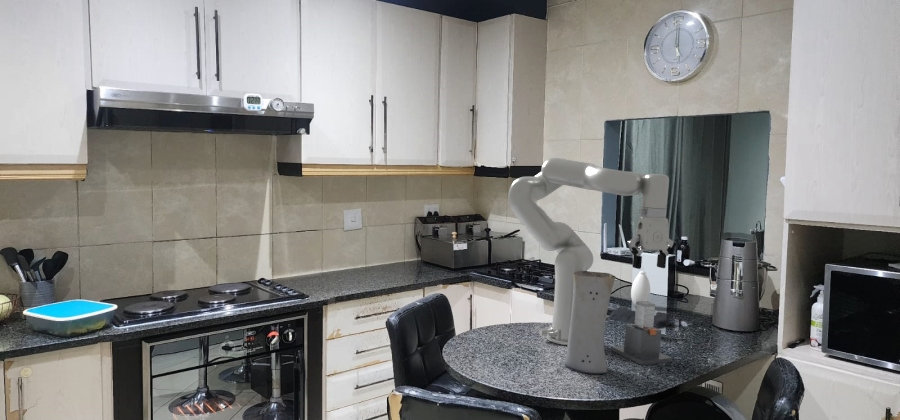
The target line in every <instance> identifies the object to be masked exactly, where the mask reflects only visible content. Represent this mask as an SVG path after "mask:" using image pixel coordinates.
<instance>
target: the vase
mask: <svg viewBox="0 0 900 420" xmlns="http://www.w3.org/2000/svg"><path fill="white" fill-rule="evenodd" d="M573 278H574V286H573V287H574V288H573V303H572V313H571V321H570V329H569V337H568V345H566V347H567V348H566V356H565V360H564V365H565V366H566V367H567V368H568V369H570V371H575V372H579V373H583V374H589V375H590V374H591V375H597V374H599V375H601V374H608V365H607V361H606V359H607V358H606V353H605V330H606V328H605V327H606V319H607V313H608V310H609V305H610V299H611V295H612V291H613V287H614V283H615V280H616V275H613V274H611V273H609V272H600V271H598V272H597V271H588V270H587V271H578V272H575V273H573Z"/></svg>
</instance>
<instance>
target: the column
mask: <svg viewBox="0 0 900 420" xmlns="http://www.w3.org/2000/svg"><path fill="white" fill-rule="evenodd" d="M635 311H636V312H635V323H634V327H635V328H637V329H640V330H642V331H644V330H648V329H653V323H654V315H655V311H656V304H655V303H654V302H651V301H649V300H648V301H636V305H635Z"/></svg>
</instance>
